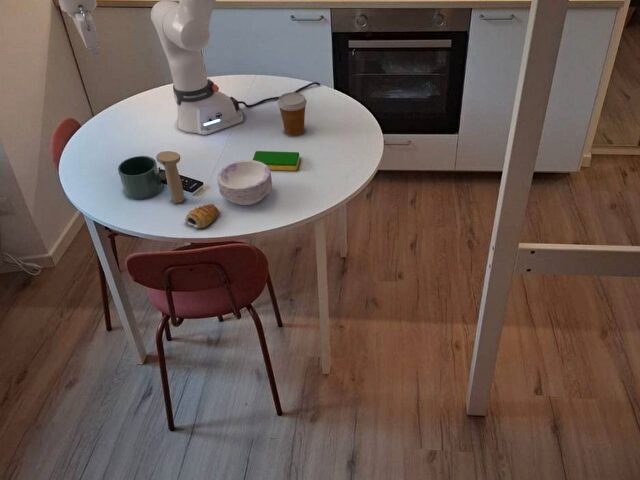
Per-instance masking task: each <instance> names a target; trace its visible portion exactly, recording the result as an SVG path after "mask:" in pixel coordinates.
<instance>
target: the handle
mask: <svg viewBox="0 0 640 480" xmlns="http://www.w3.org/2000/svg"><path fill="white" fill-rule="evenodd" d="M155 158H156V159H155V160H156V162H157V163H159V164H160V165H162V166H163V168H164V173H165V178H166V185H167V189H168V193H169V195H170V197H171V200H172V201H173V202H174V203H175V204H180V203H181V204H182V203H183V202H184V201H185V196H184V185H183V182H182V179H181V176H180V172H179V169H178V166H177V164H179V163H180V161H181V155H180V154H179V153H178V152H176V151H170V150H165V151H160V152H158V153H157V154H156V155H155Z"/></svg>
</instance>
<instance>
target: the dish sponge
mask: <svg viewBox="0 0 640 480" xmlns="http://www.w3.org/2000/svg"><path fill="white" fill-rule="evenodd" d="M300 159H301V157H300V152H299V151H296V152H295V151H274V150H273V151H272V150H271V151H270V150H269V151H267V150H265V151H264V150H256V151H255V152H254V155H253V158H252V160H254V161H259V162H262V163H264V164H265V165H267V166H268V167H269V169H270V171H294V172H295V171H296V172H297V171H298V167H299V163H300Z"/></svg>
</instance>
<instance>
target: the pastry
mask: <svg viewBox="0 0 640 480" xmlns="http://www.w3.org/2000/svg"><path fill="white" fill-rule="evenodd" d="M218 215H219V208H218V207H217V206H216V205H215V204H203V205H199V206H198V207H194V208H193V209H192V210H189V211H188V213H187V214H186V216H185V218H184V221H185V222H186V223H187V225H189V226H191V227H194V228H195V229H203V228H206V227H207V226H208V225H210V224H212V222H214V221H215V220H216V218H217V217H218Z"/></svg>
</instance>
